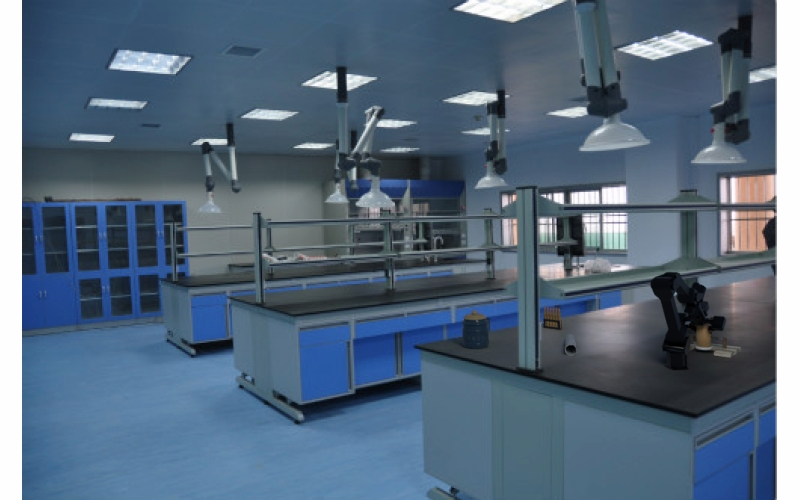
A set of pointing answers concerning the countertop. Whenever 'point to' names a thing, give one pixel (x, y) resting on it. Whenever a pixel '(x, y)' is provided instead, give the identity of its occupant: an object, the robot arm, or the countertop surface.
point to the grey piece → (718, 347)
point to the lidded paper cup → (703, 337)
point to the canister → (475, 331)
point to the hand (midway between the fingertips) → (704, 332)
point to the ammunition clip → (552, 319)
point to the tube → (570, 340)
